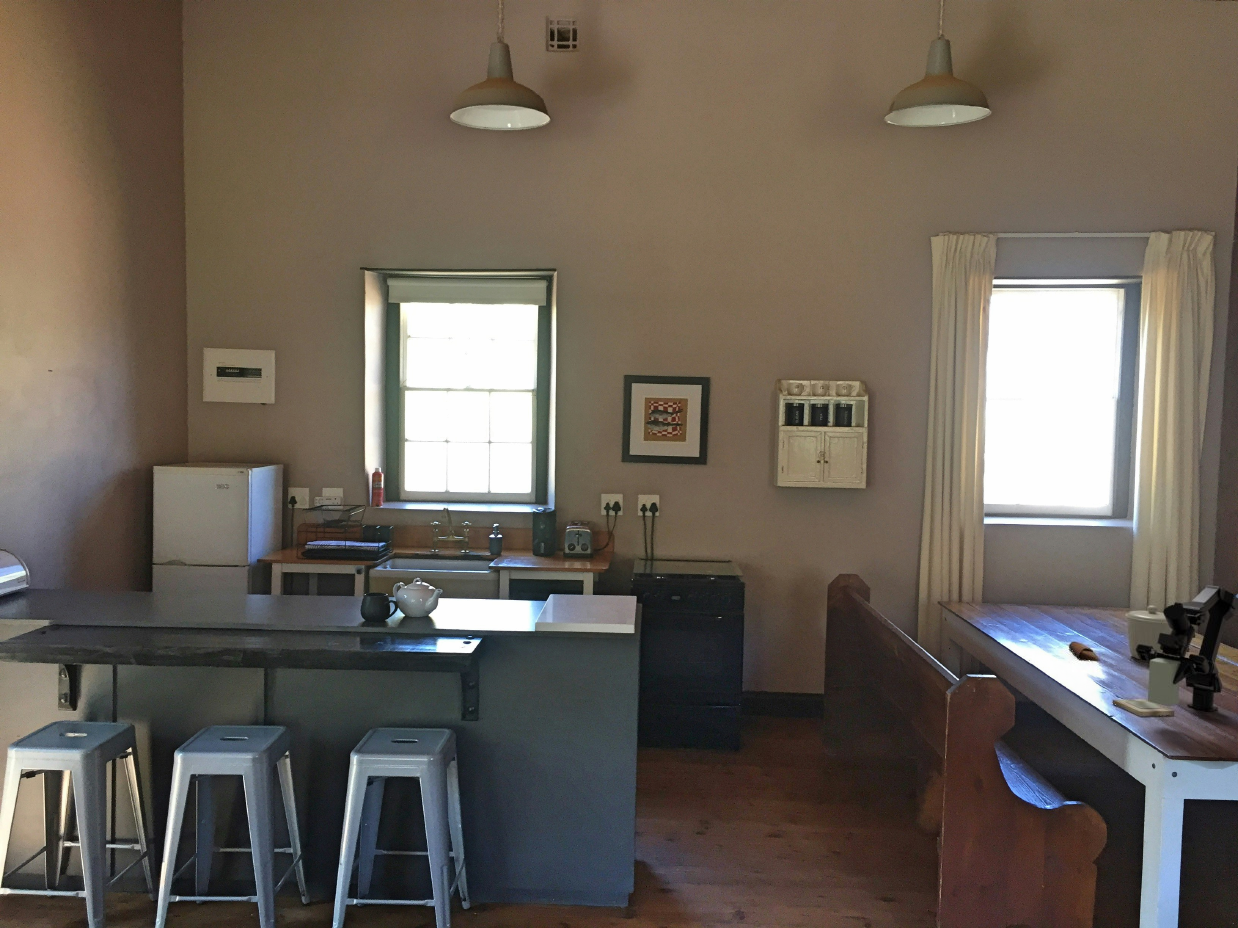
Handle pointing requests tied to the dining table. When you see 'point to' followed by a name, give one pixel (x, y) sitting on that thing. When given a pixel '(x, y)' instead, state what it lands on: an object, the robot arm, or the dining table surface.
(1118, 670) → the dining table surface
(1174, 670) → the sage block
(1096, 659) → the brown bread roll
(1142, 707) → the birch slab
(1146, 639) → the canister
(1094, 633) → the dining table surface
